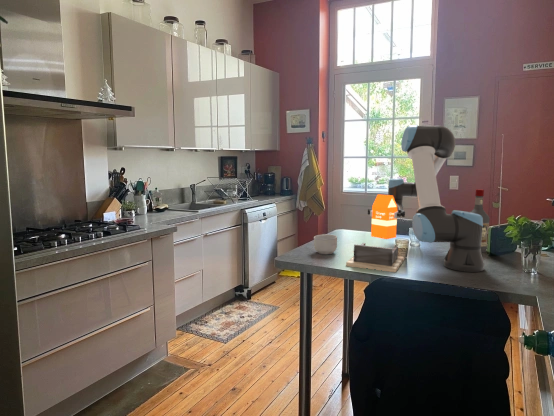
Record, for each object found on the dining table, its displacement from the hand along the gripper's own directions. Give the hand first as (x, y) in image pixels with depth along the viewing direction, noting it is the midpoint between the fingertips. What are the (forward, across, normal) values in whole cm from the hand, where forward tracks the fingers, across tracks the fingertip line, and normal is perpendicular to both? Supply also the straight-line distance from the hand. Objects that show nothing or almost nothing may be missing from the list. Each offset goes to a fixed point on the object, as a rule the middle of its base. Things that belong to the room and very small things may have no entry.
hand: (382, 214), depth 188 cm
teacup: (+10, +24, -19) cm, 32 cm away
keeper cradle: (+17, -2, -19) cm, 26 cm away
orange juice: (-4, 0, -11) cm, 12 cm away
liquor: (-31, -40, -18) cm, 54 cm away
